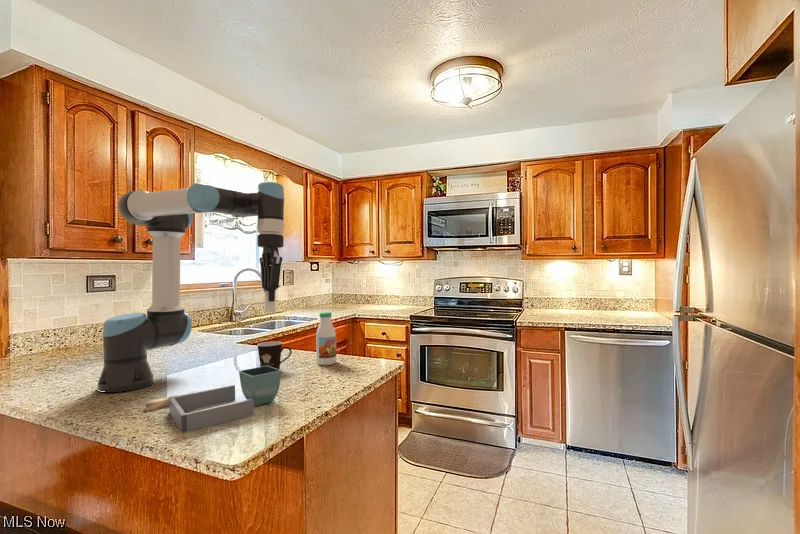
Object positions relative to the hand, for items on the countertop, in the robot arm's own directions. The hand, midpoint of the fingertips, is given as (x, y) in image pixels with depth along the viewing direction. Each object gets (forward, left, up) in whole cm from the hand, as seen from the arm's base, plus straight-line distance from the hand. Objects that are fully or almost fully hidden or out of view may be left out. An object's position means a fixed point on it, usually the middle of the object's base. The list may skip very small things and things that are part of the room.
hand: (269, 312), depth 119 cm
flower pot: (-3, -7, -25) cm, 26 cm away
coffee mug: (+1, +26, -25) cm, 36 cm away
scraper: (-26, +1, -25) cm, 36 cm away
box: (-15, -12, -25) cm, 31 cm away
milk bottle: (+21, +30, -25) cm, 44 cm away
